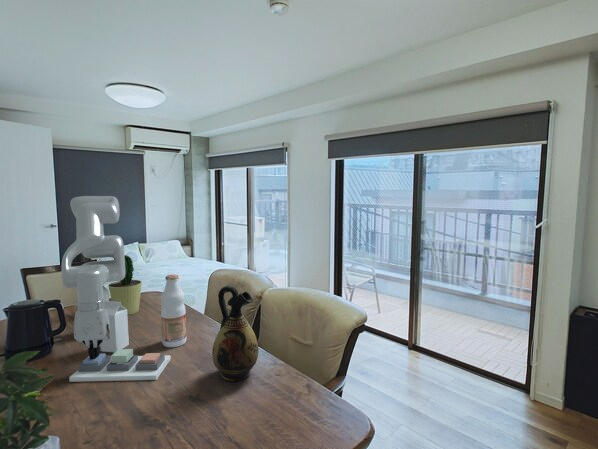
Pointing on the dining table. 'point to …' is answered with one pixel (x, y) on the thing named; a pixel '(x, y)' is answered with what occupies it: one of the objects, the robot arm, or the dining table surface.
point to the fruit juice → (173, 313)
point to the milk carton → (116, 327)
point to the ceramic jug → (234, 338)
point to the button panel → (120, 370)
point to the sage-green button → (122, 356)
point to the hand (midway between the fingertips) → (94, 357)
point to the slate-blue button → (94, 360)
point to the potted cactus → (127, 289)
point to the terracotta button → (150, 358)
